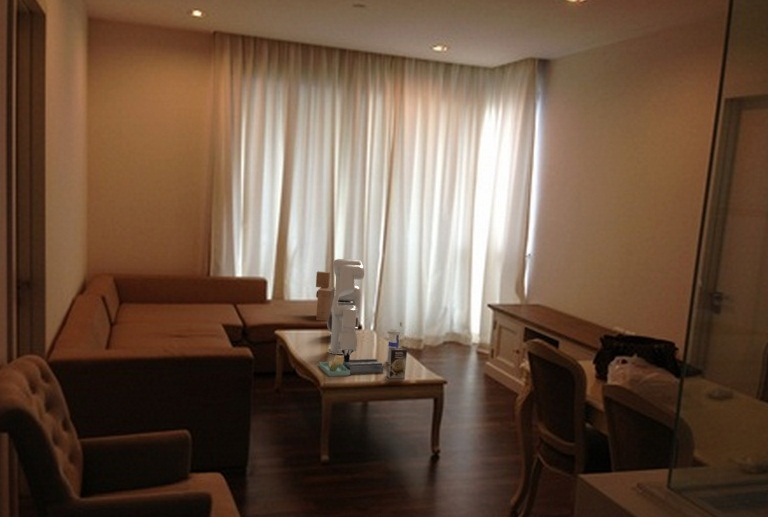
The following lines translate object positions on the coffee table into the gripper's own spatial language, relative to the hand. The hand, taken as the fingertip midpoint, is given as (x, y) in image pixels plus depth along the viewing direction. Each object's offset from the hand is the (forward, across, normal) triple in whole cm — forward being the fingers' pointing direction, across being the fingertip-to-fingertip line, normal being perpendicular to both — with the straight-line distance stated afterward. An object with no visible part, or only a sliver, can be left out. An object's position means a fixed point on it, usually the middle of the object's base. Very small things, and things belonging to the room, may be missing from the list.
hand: (346, 361), depth 383 cm
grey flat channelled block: (+5, -10, 0) cm, 11 cm away
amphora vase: (+5, -24, -78) cm, 82 cm away
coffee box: (+6, -24, +16) cm, 29 cm away
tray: (+5, +7, 0) cm, 9 cm away
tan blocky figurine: (+5, -31, -145) cm, 148 cm away
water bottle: (+5, -34, -14) cm, 37 cm away
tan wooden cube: (0, +7, 0) cm, 7 cm away
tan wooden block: (+1, +5, +1) cm, 5 cm away
